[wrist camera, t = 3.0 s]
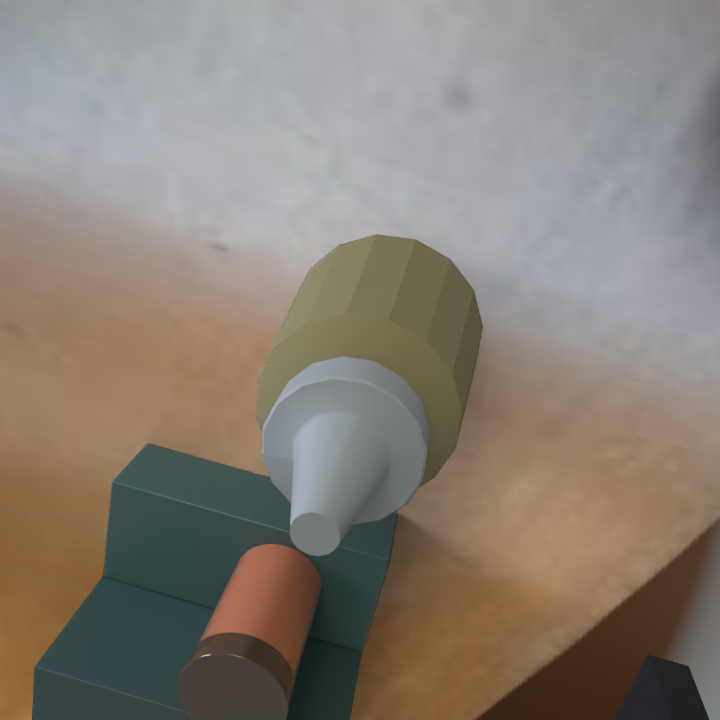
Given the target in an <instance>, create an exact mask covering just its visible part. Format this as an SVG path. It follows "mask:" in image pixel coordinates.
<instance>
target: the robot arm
mask: <svg viewBox="0 0 720 720" xmlns="http://www.w3.org/2000/svg"><path fill="white" fill-rule="evenodd" d="M614 720H709V718H708V715H707V713H706V710H705V707H704V705H703V703H702V700H701V697H700V695H699V692H698V690H697V687H696V684H695V682H694V679H693V677H692V674H691V671H690V669H689V667H688V666H686V665H682V664H679V663H675V662H672V661H668V660H665V659H662V658H658V657H655V656H651V655H647V657H646V659H645V661H644V662H643V664H642V667H641V668H640V670H639V672H638V674H637V676H636V678H635V680H634V682H633V684H632V686H631V688H630V689H629V691H628V693H627V695H626V697H625V699H624V701H623V703H622V705H621V707H620V708H619V710H618V713H617V714H616V716H615V718H614Z"/></svg>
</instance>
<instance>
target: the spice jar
mask: <svg viewBox="0 0 720 720" xmlns="http://www.w3.org/2000/svg"><path fill="white" fill-rule="evenodd" d="M321 589H322V584H321V578H320V575H319V573H318V570H317V569H316V567H315V565H314V564H313V563H312V562H311V561H310V560H309V559H308V558H307V557H306V556H305V555H304V554H302V553H301V552H299V551H297V550H295V549H293V548H291V547H288V546H285V545H280V544H263V545H259V546H256V547H254V548H252V549H250V550H248V551H247V552H246V553H244V554H243V555H242V556H241V558H240V559H239V561H238V563H237V565H236V567H235V569H234V571H233V573H232V575H231V577H230V579H229V581H228V583H227V585H226V587H225V589H224V591H223V593H222V595H221V597H220V599H219V601H218V604H217V606H216V608H215V610H214V612H213V614H212V616H211V618H210V620H209V622H208V624H207V626H206V628H205V630H204V632H203V634H202V636H201V638H200V640H199V642H198V644H197V645H196V646H195V647H194V648H193V650H192V651H191V653H190V655H189V657H188V659H187V661H186V663H185V665H184V667H183V669H182V671H181V673H180V675H179V678H178V683H177V692H178V697H179V700H180V703H181V705H182V707H183V709H184V710H185V712H186V713H187V714H188V716H189V717H190V718H191V719H192V720H286V718H287V716H288V712H289V709H290V705H291V702H292V699H293V695H294V691H295V680H296V676H297V673H298V669H299V666H300V663H301V659H302V656H303V652H304V649H305V646H306V642H307V639H308V635H309V632H310V628H311V625H312V622H313V618H314V615H315V611H316V608H317V605H318V601H319V598H320V594H321Z"/></svg>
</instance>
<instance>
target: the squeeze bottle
mask: <svg viewBox="0 0 720 720" xmlns="http://www.w3.org/2000/svg"><path fill="white" fill-rule="evenodd" d="M482 328H483V325H482V321H481V317H480V313H479V309H478V305H477V301H476V297H475V293H474V290H473V288H472V287H471V286H470V284H469V283H468V282H467V280H466V279H465V278H464V277H463V275H462V274H461V273H460V271H459V270H458V269H457V267H456V266H455V265H454V263H453V262H452V261H451V260H450V259H449V258H447V257H445V256H444V255H442V254H440V253H439V252H437V251H435V250H433V249H432V248H430V247H428V246H426V245H425V244H423V243H421V242H419V241H418V240H415V239H408V238H400V237H392V236H385V235H373V236H369V237H366V238H362V239H358V240H355V241H351V242H347V243H344V244H340V245H338V246H337V247H336V248H335V249H333V250H332V251H331V252H330V253H328V254H327V255H326V256H325V257H323V258H322V259H321V260H320V261H318V262H317V263H316V264H315V265H313V266H312V267H311V268H310V270H309V272H308V274H307V276H306V277H305V279H304V281H303V283H302V285H301V287H300V289H299V291H298V293H297V295H296V297H295V299H294V301H293V303H292V305H291V307H290V309H289V312H288V314H287V316H286V318H285V321H284V323H283V325H282V327H281V329H280V332H279V334H278V336H277V338H276V340H275V343H274V345H273V347H272V349H271V351H270V354H269V356H268V358H267V360H266V362H265V365H264V367H263V369H262V371H261V373H260V376H259V378H258V385H257V406H256V417H257V420H258V422H259V425H260V428H261V430H262V433H263V435H262V457H263V460H264V462H265V465H266V468H267V470H268V473H269V475H270V478H271V481H272V483H273V484H274V485H275V486H276V487H277V488H278V489H279V490H280V491H281V493H282V494H283V495H284V496H285V497H286V498H287V499H288V500H289V501H290V502H291V518H290V537H291V539H292V542H293V543H294V544H295V546H296V547H297V548H298V549H299V550H301V551H303V552H305V553H306V554H309V555H314V556H322V555H327V554H329V553H331V552H332V551H334V550H335V549H336V547H337V546H338V545H339V543H340V542H341V540H342V539H343V537H344V536H345V535H346V533H347V532H348V530H349V529H350V527H351V526H352V525H354V524H360V523H366V522H371V521H377V520H382V519H383V518H385V517H387V516H388V515H390V514H392V513H393V512H395V511H397V510H398V509H400V508H402V507H403V506H405V505H406V504H407V503H408V502H409V500H410V499H411V497H412V496H413V494H414V493H415V491H416V490H417V489H418V487H420V486H421V485H423V484H425V483H426V482H428V481H430V480H431V479H433V478H435V476H436V475H437V473H438V472H439V471H440V469H441V468H442V466H443V465H444V464H445V462H446V461H447V459H448V458H449V456H450V455H451V454H452V452H453V451H454V449H455V448H456V444H457V440H458V436H459V432H460V428H461V424H462V420H463V415H464V411H465V407H466V403H467V399H468V395H469V390H470V386H471V382H472V378H473V374H474V370H475V366H476V361H477V356H478V350H479V345H480V339H481V333H482Z"/></svg>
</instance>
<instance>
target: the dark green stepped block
mask: <svg viewBox="0 0 720 720" xmlns="http://www.w3.org/2000/svg"><path fill="white" fill-rule="evenodd" d="M397 516H398V515H397V513H394V512H393V513H392V514H390V515H388V516H387V517H385V518H383V519H382V520H377V521H371V522H366V523H360V524H354V525H352V526H351V527H350V529H349V530H348V532H347V533H346V535H345V536H344V537H343V539H342V540H341V542H340V543H339V545H338V546H337V547H336V549H335V550H334V551H332V552H331V553H329V554H327V555H322V556H314V555H309V554H306V553H305V552H303V551H301V550H299V549H298V548H297V547H296V546H295V544H294V543H293V542H292V539H291V537H290V518H291V502H290V501H289V500H288V499H287V498H286V497H285V496H284V495H283V494H282V493H281V491H280V490H279V489H278V488H277V487H276V486H275V485H274V484H273V483H272V481H271V478H269V477H266V476H262V475H258V474H255V473H251V472H248V471H244V470H241V469H237V468H234V467H230V466H226V465H223V464H219V463H216V462H212V461H209V460H205V459H202V458H198V457H194V456H191V455H187V454H184V453H180V452H177V451H173V450H170V449H166V448H162V447H159V446H155V445H152V444H146V445H145V447H144V448H143V449H142V450H141V451H140V452H139V453H138V454H137V455H136V456H135V457H134V459H133V460H132V461H131V462H130V463H129V464H128V465H127V466H126V467H125V468H124V469H123V470H122V472H121V473H120V474H119V475H118V476H117V477H116V478H115V479H114V480H113V482H112V489H111V500H110V510H109V520H108V530H107V540H106V550H105V560H104V570H103V577H102V578H101V580H100V581H99V582H98V584H97V585H96V586H95V588H94V589H93V590H92V592H91V593H90V594H89V596H88V597H87V598H86V599H85V601H84V602H83V603H82V605H81V606H80V607H79V609H78V610H77V611H76V613H75V614H74V615H73V617H72V618H71V619H70V621H69V622H68V623H67V625H66V626H65V627H64V629H63V630H62V631H61V632H60V634H59V635H58V636H57V638H56V639H55V640H54V642H53V643H52V644H51V646H50V647H49V648H48V650H47V651H46V652H45V654H44V655H43V656H42V658H41V659H40V660H39V661H38V663H37V664H36V665H35V668H34V687H33V706H32V720H192V719H191V718H190V717H189V716H188V714H187V713H186V712H185V710H184V709H183V707H182V705H181V703H180V700H179V697H178V692H177V683H178V678H179V675H180V673H181V671H182V669H183V667H184V665H185V663H186V661H187V659H188V657H189V655H190V653H191V651H192V650H193V648H194V647H195V646H196V645H197V644H198V642H199V640H200V638H201V636H202V634H203V632H204V630H205V628H206V626H207V624H208V622H209V620H210V618H211V616H212V614H213V612H214V610H215V608H216V606H217V604H218V601H219V599H220V597H221V595H222V593H223V591H224V589H225V587H226V585H227V583H228V581H229V579H230V577H231V575H232V573H233V571H234V569H235V567H236V565H237V563H238V561H239V559H240V558H241V556H242V555H243V554H244V553H246V552H247V551H248V550H250V549H252V548H254V547H256V546H259V545H263V544H280V545H285V546H288V547H291V548H293V549H295V550H297V551H299V552H301V553H302V554H304V555H305V556H306V557H307V558H308V559H309V560H310V561H311V562H312V563H313V564H314V565H315V567H316V569H317V570H318V573H319V575H320V578H321V584H322V589H321V594H320V598H319V601H318V605H317V608H316V611H315V615H314V618H313V622H312V625H311V628H310V632H309V635H308V639H307V642H306V646H305V649H304V652H303V656H302V659H301V663H300V666H299V669H298V673H297V676H296V680H295V691H294V695H293V699H292V702H291V705H290V709H289V712H288V716H287V718H286V720H350V714H351V709H352V704H353V698H354V693H355V688H356V682H357V677H358V672H359V667H360V661H361V656H362V651H363V648H364V645H365V641H366V638H367V635H368V632H369V628H370V625H371V622H372V619H373V615H374V612H375V609H376V605H377V602H378V599H379V596H380V592H381V589H382V586H383V582H384V579H385V576H386V573H387V569H388V566H389V563H390V558H391V552H392V546H393V540H394V534H395V528H396V522H397Z"/></svg>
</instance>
